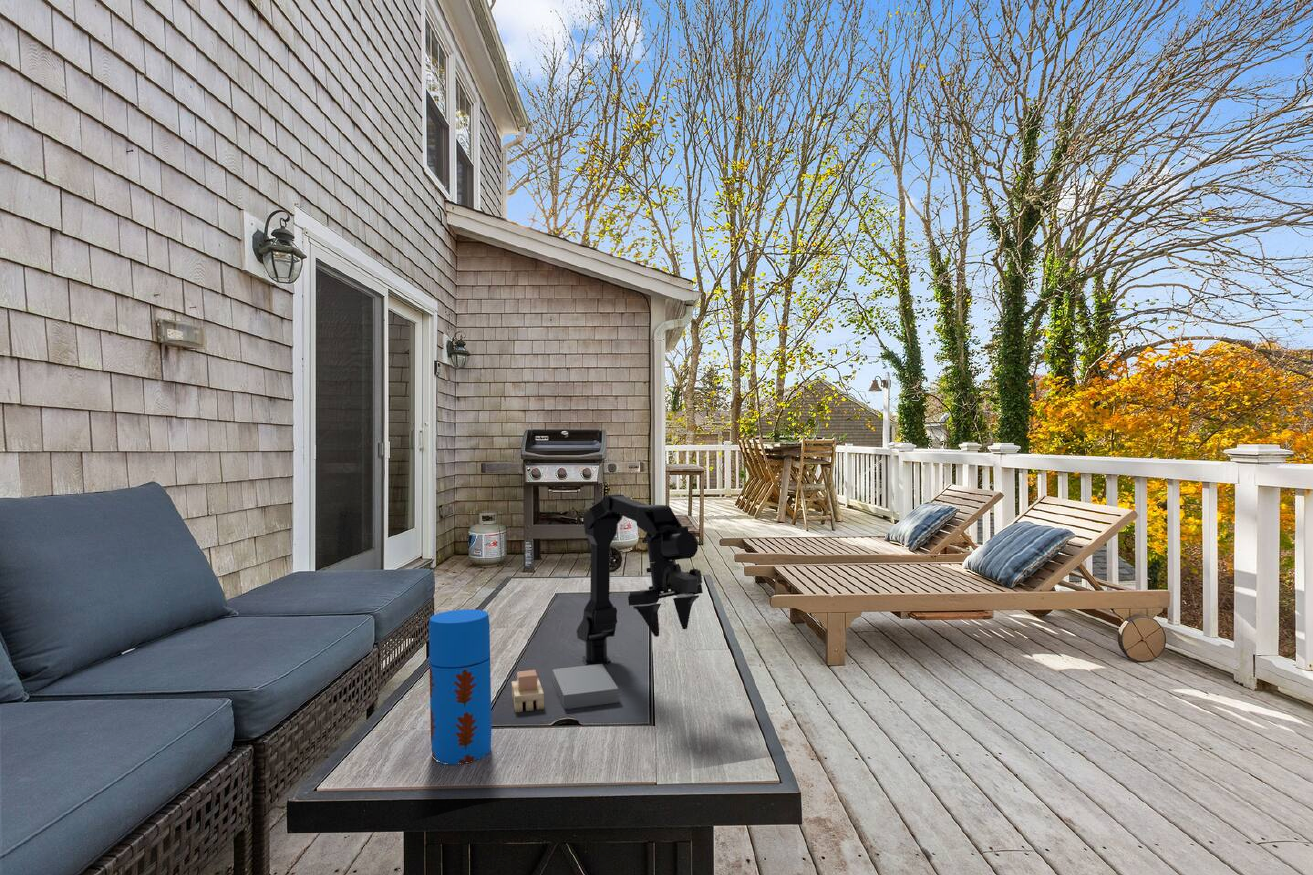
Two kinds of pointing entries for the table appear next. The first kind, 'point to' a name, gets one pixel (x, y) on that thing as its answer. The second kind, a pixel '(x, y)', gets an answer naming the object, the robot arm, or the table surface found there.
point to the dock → (585, 686)
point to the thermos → (460, 685)
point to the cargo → (526, 680)
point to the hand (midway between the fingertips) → (671, 632)
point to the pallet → (527, 697)
